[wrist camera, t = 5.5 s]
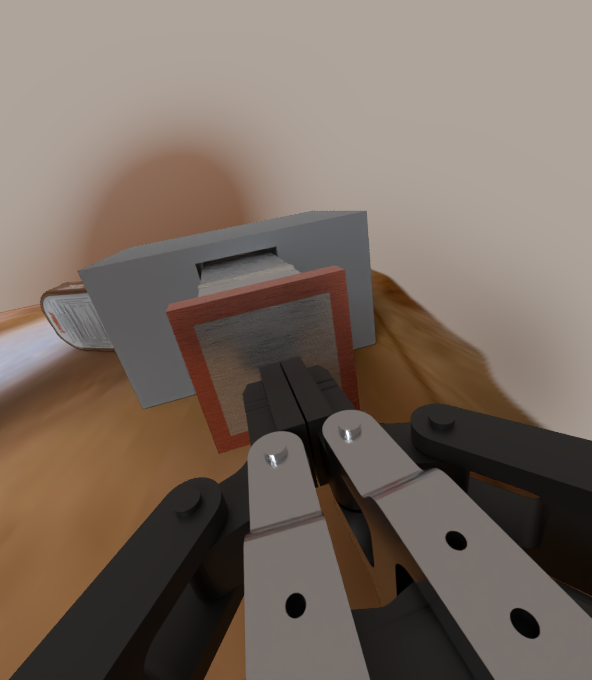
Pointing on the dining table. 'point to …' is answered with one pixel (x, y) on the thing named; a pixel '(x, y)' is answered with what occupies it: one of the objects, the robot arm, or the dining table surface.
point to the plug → (260, 332)
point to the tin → (75, 317)
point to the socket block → (184, 278)
